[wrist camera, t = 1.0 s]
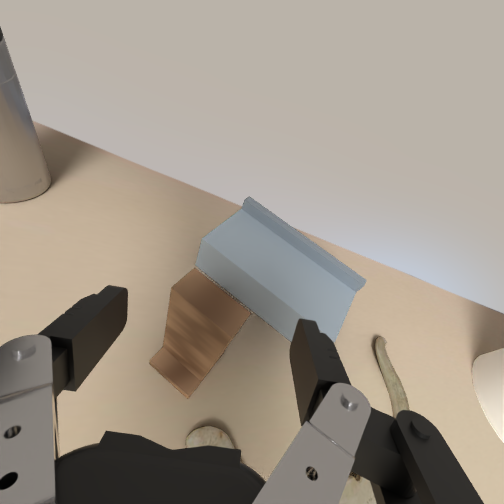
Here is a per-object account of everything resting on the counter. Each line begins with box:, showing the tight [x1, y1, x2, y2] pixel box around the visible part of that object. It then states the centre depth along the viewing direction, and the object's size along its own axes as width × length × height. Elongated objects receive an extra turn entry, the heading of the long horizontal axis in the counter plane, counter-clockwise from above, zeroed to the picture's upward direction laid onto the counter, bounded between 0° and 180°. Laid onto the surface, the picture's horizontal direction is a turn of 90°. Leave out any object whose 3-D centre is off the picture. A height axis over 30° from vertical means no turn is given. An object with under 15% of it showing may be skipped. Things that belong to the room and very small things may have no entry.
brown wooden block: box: [150, 268, 251, 399], centre depth 24 cm, size 6×6×14 cm
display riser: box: [195, 197, 366, 343], centre depth 36 cm, size 20×10×8 cm, turn 56°
